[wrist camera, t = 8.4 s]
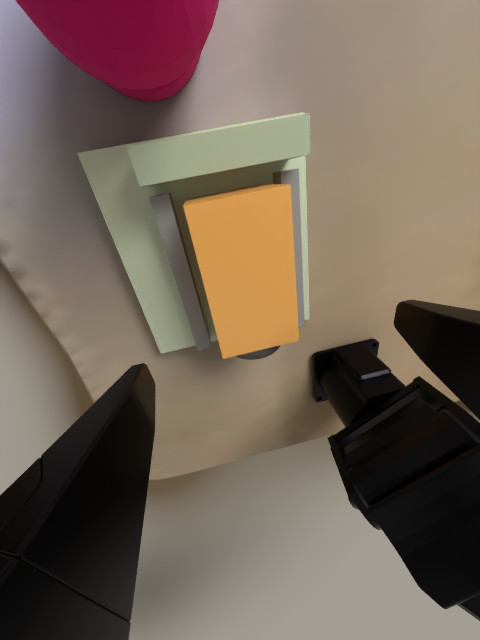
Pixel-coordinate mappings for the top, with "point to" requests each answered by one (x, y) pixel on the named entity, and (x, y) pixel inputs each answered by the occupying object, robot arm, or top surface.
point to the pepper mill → (129, 40)
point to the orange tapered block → (247, 266)
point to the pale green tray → (170, 220)
